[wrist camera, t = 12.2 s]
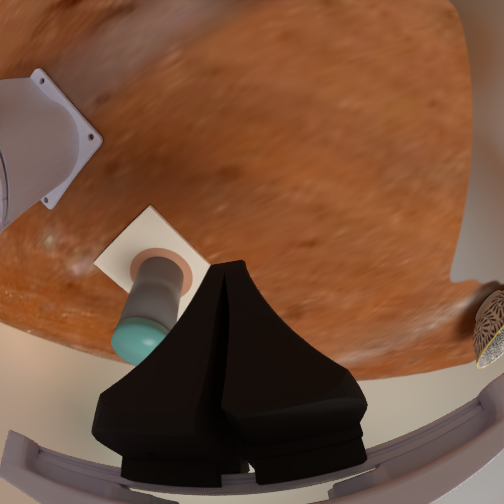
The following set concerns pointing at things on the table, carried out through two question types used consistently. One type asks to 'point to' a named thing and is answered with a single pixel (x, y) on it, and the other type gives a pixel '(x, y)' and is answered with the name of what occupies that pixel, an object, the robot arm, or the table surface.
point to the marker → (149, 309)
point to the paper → (152, 254)
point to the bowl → (489, 330)
